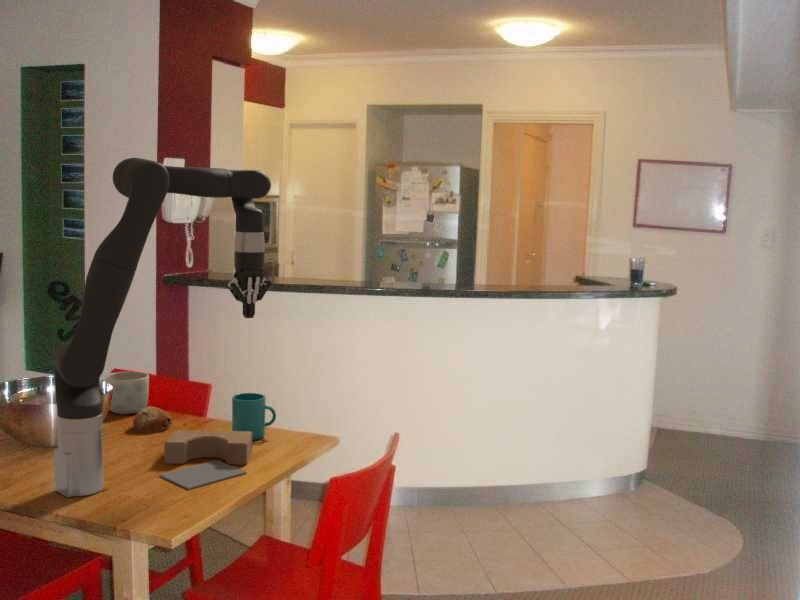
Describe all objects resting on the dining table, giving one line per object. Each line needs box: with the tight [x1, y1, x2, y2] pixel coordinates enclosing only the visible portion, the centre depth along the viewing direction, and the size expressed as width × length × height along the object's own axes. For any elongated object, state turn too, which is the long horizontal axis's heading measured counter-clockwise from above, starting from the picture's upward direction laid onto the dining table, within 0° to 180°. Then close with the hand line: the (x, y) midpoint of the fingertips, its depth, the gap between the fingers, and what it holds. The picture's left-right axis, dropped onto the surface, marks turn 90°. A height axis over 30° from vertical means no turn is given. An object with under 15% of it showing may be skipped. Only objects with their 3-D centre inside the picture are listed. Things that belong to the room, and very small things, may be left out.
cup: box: [231, 392, 277, 441], centre depth 222 cm, size 9×12×11 cm
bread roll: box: [132, 405, 173, 434], centre depth 228 cm, size 10×10×8 cm
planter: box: [105, 371, 150, 415], centre depth 244 cm, size 12×12×11 cm
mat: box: [159, 459, 247, 491], centre depth 191 cm, size 16×12×1 cm
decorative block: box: [163, 429, 253, 466], centre depth 203 cm, size 11×6×20 cm
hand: (248, 317), depth 206 cm, fingers closed
